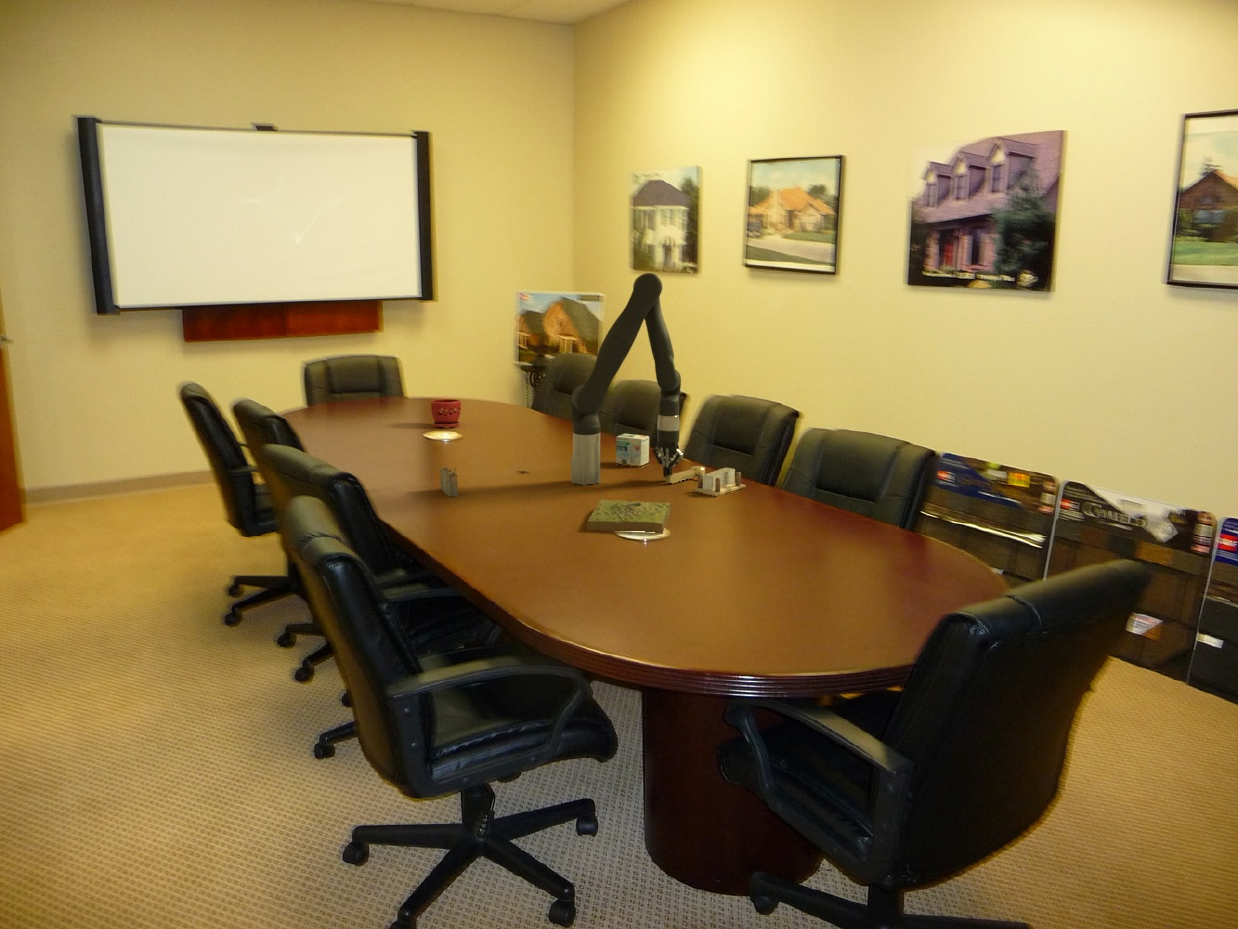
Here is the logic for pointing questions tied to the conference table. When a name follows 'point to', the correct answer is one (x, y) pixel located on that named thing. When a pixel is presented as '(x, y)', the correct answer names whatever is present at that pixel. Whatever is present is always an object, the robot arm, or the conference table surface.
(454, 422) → the plant pot
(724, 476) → the grey rectangular block
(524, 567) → the conference table surface
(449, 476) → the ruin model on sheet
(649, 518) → the miniature landscape model
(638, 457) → the light bulb box
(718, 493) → the peg rack
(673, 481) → the beige long bar
